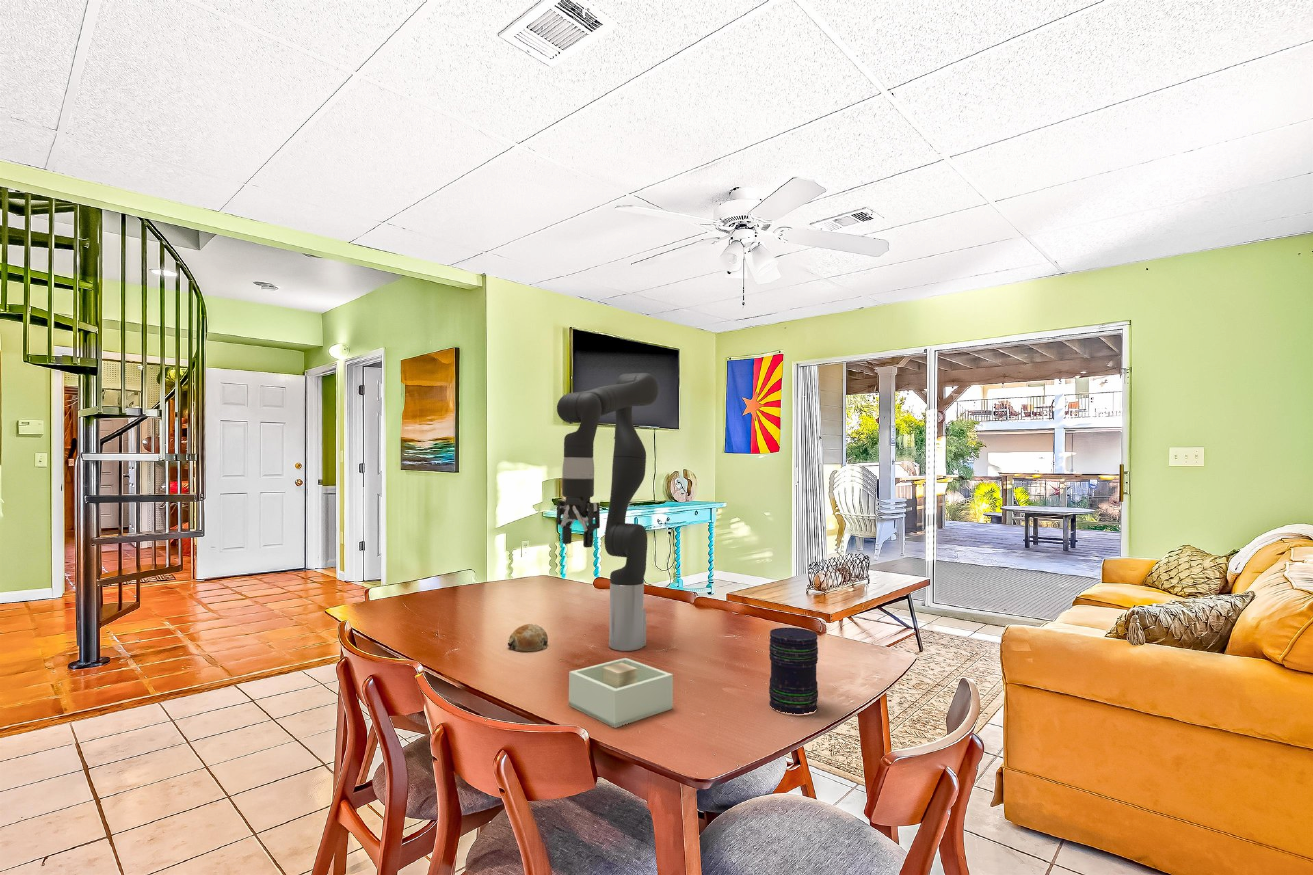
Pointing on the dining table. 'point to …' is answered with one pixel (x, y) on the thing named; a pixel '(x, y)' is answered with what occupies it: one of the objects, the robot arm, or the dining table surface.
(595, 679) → the bin
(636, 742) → the dining table surface
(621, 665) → the block
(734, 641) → the dining table surface
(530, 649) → the bread roll
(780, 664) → the storage jar
